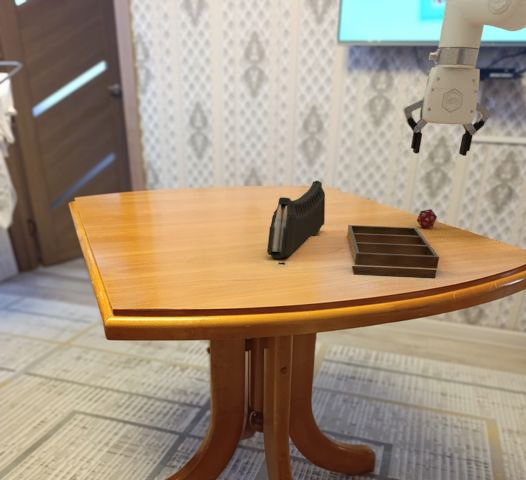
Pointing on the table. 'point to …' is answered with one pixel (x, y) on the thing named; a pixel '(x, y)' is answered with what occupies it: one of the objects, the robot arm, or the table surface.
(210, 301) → the table surface
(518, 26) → the robot arm
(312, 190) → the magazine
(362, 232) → the rack
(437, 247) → the table surface
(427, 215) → the dice
